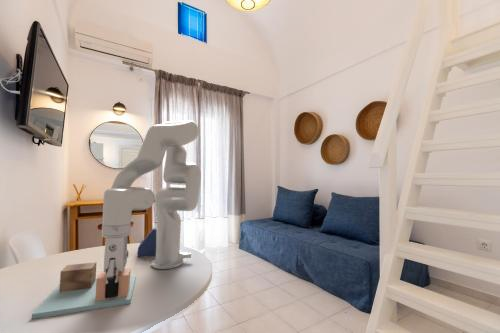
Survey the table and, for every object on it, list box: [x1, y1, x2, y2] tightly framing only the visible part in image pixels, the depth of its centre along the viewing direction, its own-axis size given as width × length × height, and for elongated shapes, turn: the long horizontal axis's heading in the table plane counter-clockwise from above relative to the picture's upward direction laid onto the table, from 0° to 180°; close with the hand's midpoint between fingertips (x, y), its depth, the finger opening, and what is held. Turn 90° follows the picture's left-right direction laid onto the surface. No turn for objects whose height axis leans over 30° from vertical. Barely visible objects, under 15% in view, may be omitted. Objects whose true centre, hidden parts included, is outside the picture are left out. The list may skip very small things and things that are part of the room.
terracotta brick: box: [95, 267, 131, 301], centre depth 69 cm, size 8×6×6 cm
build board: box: [31, 274, 137, 320], centre depth 71 cm, size 22×18×1 cm
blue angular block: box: [137, 227, 157, 258], centre depth 113 cm, size 12×12×12 cm
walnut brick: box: [59, 262, 97, 292], centre depth 74 cm, size 8×6×6 cm
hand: (113, 291), depth 69 cm, fingers closed on terracotta brick, 5 cm apart
